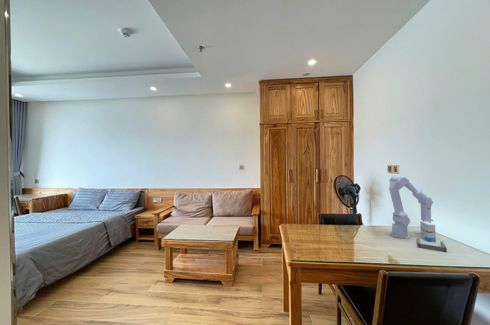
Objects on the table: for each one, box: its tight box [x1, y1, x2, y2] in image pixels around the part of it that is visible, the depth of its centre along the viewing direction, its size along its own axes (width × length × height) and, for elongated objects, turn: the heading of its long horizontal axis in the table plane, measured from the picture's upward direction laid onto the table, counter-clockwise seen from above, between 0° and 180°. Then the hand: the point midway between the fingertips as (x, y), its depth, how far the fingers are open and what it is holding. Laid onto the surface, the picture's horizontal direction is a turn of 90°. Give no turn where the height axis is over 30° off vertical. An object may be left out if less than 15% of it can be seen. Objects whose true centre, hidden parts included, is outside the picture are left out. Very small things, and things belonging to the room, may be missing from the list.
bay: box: [416, 237, 448, 253], centre depth 138 cm, size 13×12×2 cm
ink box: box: [419, 220, 437, 243], centre depth 150 cm, size 8×5×12 cm, turn 168°
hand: (426, 231), depth 158 cm, fingers closed
